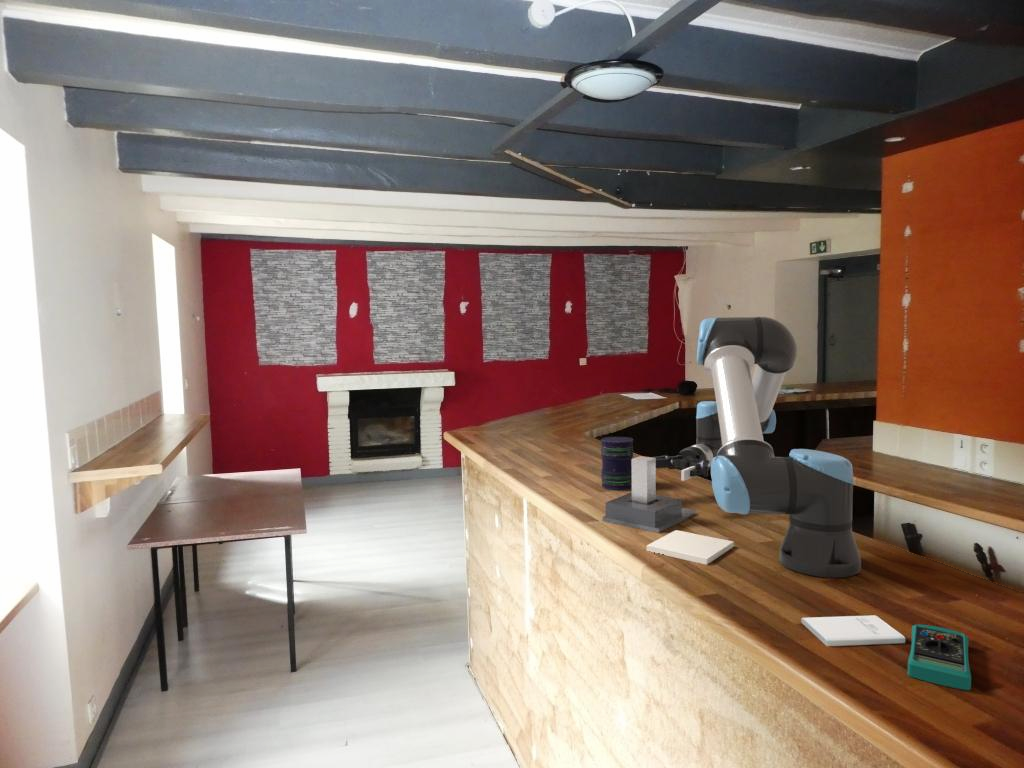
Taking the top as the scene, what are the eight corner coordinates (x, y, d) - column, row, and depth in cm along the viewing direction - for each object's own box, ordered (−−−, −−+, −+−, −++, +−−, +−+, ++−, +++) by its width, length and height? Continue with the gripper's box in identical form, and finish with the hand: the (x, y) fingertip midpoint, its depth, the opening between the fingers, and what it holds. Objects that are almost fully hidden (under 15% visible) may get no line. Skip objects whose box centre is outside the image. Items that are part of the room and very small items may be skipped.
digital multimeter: (968, 649, 100) (968, 630, 100) (970, 695, 88) (971, 674, 87) (911, 637, 104) (912, 619, 104) (906, 680, 92) (907, 660, 91)
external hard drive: (801, 626, 109) (874, 622, 109) (826, 650, 101) (905, 646, 101) (801, 616, 109) (874, 613, 109) (826, 640, 101) (905, 636, 101)
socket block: (695, 513, 172) (695, 495, 172) (658, 532, 157) (658, 512, 157) (641, 504, 183) (641, 486, 182) (602, 521, 168) (602, 501, 167)
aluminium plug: (655, 515, 168) (655, 458, 167) (647, 519, 165) (646, 460, 163) (640, 512, 171) (640, 456, 170) (631, 516, 168) (631, 458, 166)
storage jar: (599, 490, 200) (599, 441, 198) (602, 482, 209) (602, 436, 208) (632, 491, 197) (632, 442, 196) (634, 483, 207) (634, 436, 205)
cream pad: (733, 546, 146) (733, 541, 146) (706, 564, 136) (706, 559, 136) (676, 534, 155) (676, 529, 155) (646, 550, 145) (646, 545, 145)
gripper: (736, 477, 181) (703, 493, 165) (656, 466, 198) (618, 479, 182) (737, 450, 181) (703, 463, 165) (655, 442, 197) (618, 453, 181)
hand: (658, 472), depth 173 cm, fingers open, 13 cm apart
